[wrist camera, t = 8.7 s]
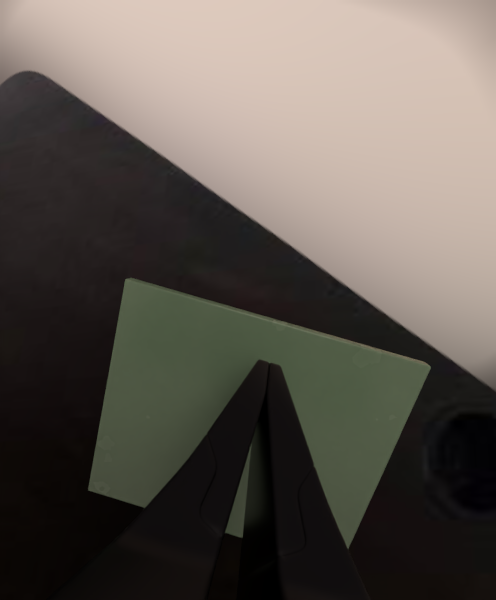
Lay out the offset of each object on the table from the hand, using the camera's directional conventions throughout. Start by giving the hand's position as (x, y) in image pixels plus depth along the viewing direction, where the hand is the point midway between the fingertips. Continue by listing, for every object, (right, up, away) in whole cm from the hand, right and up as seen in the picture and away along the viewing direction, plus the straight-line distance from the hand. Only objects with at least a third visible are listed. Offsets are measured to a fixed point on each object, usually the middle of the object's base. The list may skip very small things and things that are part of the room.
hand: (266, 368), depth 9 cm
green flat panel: (-1, -4, +3) cm, 5 cm away
